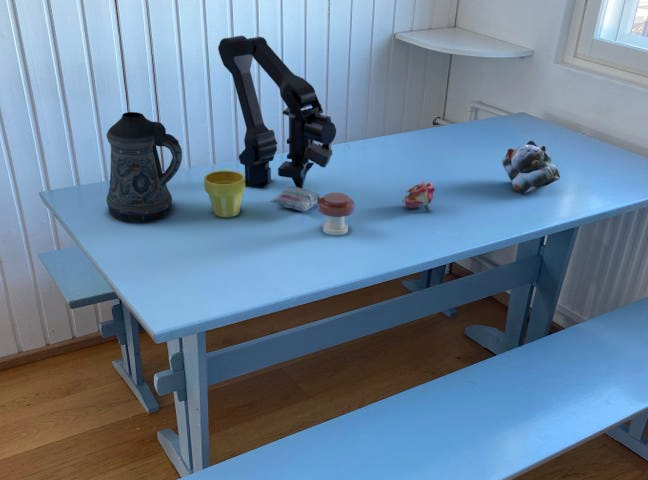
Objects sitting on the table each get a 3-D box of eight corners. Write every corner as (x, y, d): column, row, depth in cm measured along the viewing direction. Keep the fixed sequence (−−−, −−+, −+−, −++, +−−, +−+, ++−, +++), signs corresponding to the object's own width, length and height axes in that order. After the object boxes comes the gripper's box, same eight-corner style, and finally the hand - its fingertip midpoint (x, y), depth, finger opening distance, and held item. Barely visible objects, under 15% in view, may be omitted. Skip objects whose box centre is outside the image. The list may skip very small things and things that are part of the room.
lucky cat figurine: (516, 196, 211) (504, 148, 208) (506, 197, 223) (495, 151, 220) (566, 181, 211) (555, 132, 208) (553, 182, 223) (543, 136, 220)
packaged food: (307, 218, 193) (307, 200, 190) (269, 208, 197) (269, 190, 195) (323, 207, 200) (324, 190, 197) (286, 197, 204) (286, 180, 201)
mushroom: (313, 234, 185) (313, 201, 180) (323, 220, 193) (324, 188, 187) (347, 240, 184) (348, 207, 179) (357, 225, 191) (358, 193, 186)
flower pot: (208, 204, 198) (205, 169, 192) (247, 204, 199) (245, 169, 193) (205, 220, 189) (202, 184, 184) (245, 220, 190) (244, 184, 185)
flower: (445, 201, 202) (433, 174, 200) (438, 207, 194) (425, 179, 192) (414, 216, 206) (402, 190, 205) (406, 222, 198) (393, 195, 197)
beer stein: (104, 202, 196) (88, 107, 181) (176, 193, 203) (167, 101, 188) (113, 227, 184) (97, 127, 169) (190, 217, 190) (182, 120, 176)
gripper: (318, 150, 184) (318, 208, 193) (339, 127, 198) (337, 181, 207) (276, 144, 186) (278, 202, 195) (299, 121, 200) (300, 176, 209)
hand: (300, 190), depth 202 cm, fingers closed
